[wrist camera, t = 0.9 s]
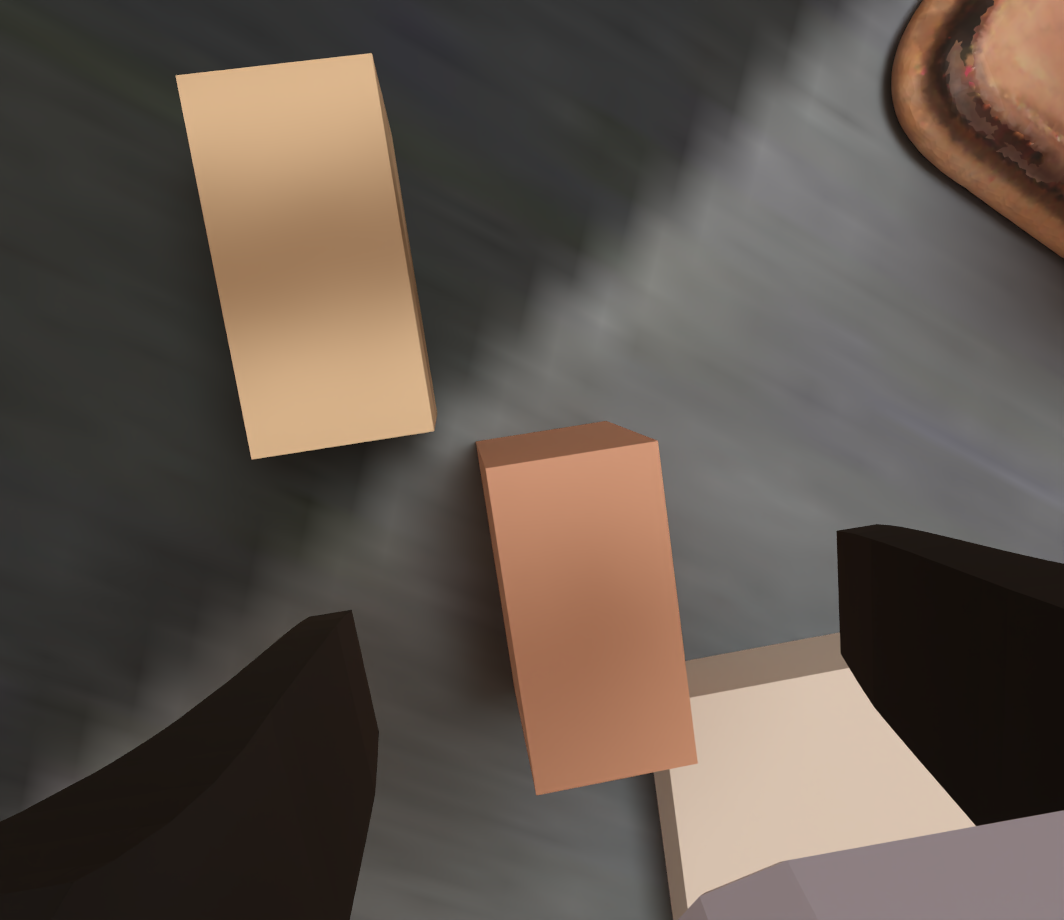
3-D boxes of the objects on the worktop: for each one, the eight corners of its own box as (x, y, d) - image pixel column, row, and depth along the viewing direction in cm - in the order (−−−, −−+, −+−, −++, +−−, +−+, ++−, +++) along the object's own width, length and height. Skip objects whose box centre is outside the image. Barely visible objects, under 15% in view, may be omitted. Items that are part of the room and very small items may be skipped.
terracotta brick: (638, 668, 25) (697, 763, 19) (514, 691, 25) (536, 795, 19) (605, 420, 24) (657, 440, 18) (475, 441, 24) (485, 468, 18)
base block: (953, 933, 28) (1013, 1000, 25) (680, 993, 27) (708, 1070, 24) (928, 610, 26) (988, 641, 24) (636, 663, 26) (661, 703, 23)
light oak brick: (437, 413, 24) (434, 431, 18) (301, 434, 23) (251, 459, 17) (391, 134, 22) (371, 53, 17) (248, 151, 22) (175, 75, 16)
